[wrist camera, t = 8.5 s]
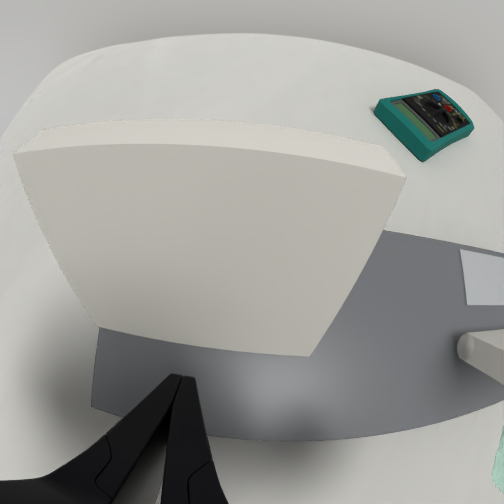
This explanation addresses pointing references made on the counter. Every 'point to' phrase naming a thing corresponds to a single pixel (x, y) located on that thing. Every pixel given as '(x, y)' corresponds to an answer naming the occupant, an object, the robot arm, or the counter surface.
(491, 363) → the lever
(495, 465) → the cloth
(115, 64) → the counter surface
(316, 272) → the white square panel
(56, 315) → the counter surface
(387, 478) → the counter surface
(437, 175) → the counter surface
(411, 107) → the digital multimeter
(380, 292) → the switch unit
